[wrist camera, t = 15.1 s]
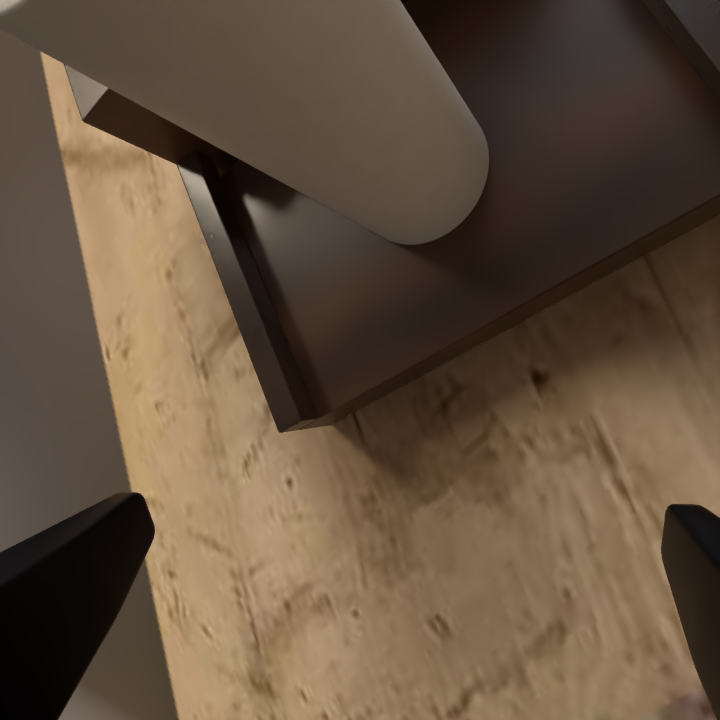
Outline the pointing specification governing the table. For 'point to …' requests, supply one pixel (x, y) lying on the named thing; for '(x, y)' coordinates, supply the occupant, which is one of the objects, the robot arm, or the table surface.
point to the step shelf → (491, 213)
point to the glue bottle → (289, 95)
